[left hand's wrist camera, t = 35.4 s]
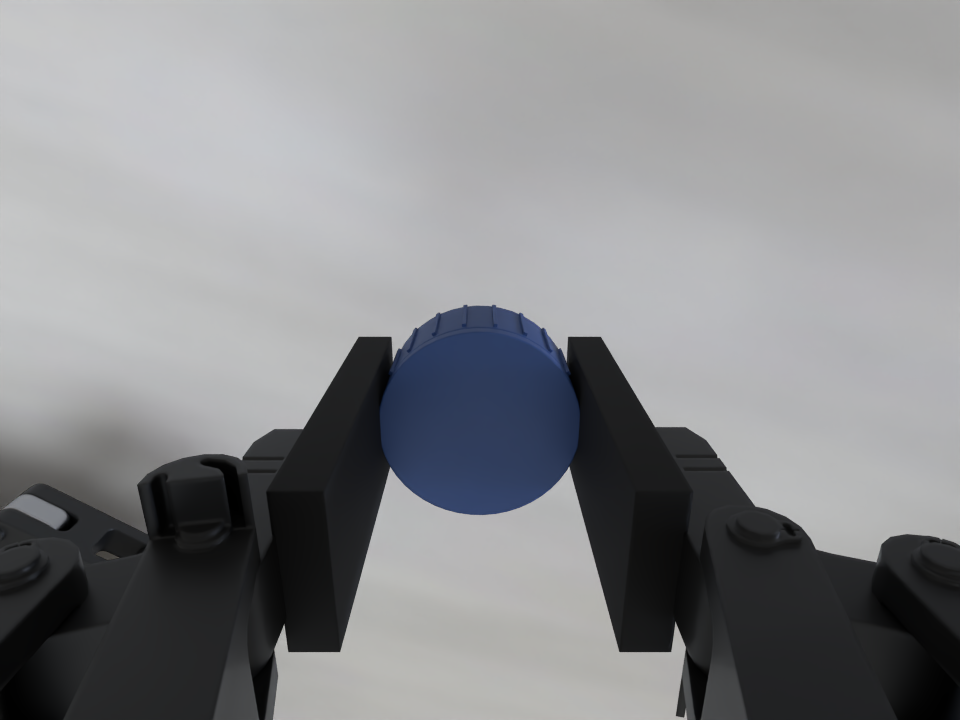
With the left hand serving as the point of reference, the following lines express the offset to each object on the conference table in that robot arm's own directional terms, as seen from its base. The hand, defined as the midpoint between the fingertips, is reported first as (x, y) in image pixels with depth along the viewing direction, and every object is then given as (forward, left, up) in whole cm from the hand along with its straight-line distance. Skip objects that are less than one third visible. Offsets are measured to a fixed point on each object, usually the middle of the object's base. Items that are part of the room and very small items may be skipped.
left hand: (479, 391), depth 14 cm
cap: (0, 0, +2) cm, 2 cm away
